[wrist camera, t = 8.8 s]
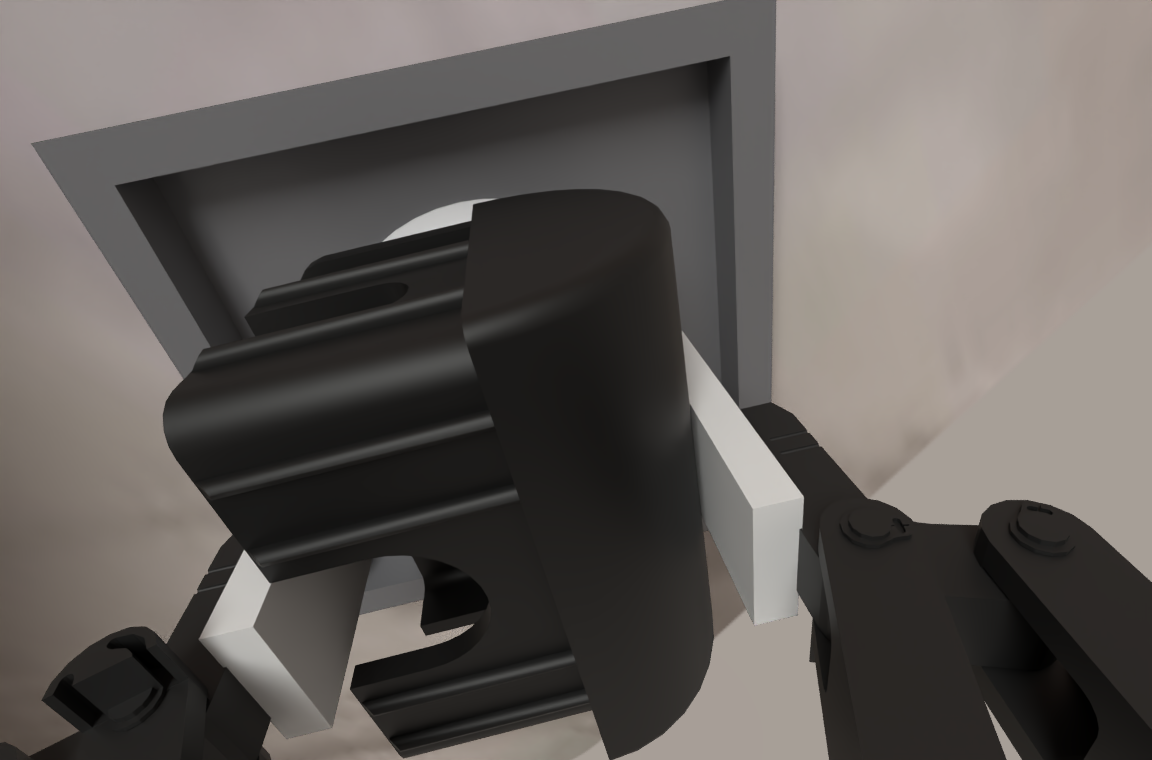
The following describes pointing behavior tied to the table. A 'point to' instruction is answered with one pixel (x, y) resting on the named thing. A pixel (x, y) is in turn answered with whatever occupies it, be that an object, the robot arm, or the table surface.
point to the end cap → (480, 462)
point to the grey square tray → (453, 180)
